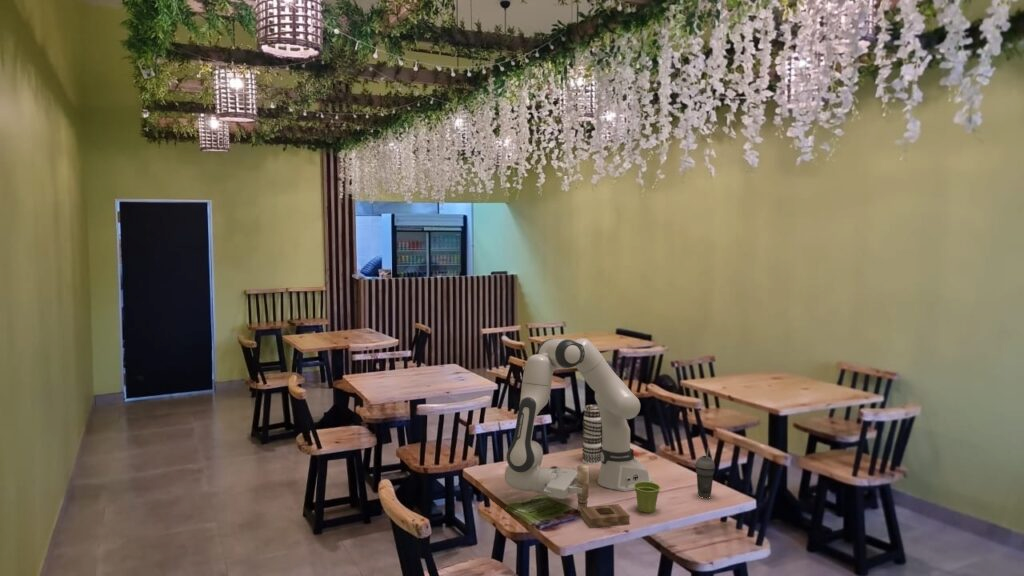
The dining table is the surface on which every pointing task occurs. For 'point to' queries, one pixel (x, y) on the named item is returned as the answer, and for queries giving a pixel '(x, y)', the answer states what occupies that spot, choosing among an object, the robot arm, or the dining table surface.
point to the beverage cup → (704, 475)
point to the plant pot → (646, 496)
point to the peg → (582, 485)
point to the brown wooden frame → (605, 515)
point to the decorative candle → (592, 435)
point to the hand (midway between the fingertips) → (585, 486)
